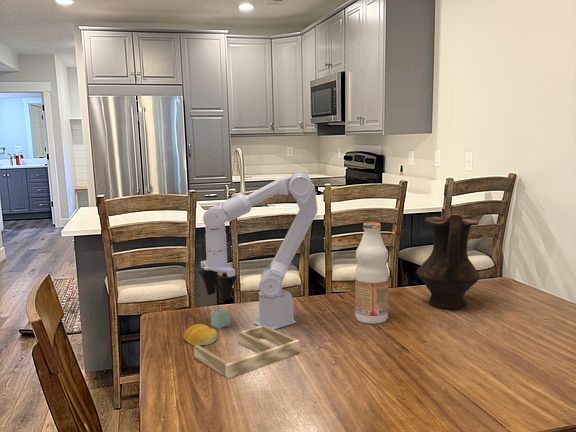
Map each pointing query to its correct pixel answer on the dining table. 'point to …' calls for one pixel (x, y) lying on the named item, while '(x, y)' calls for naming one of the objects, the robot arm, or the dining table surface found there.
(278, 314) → the robot arm
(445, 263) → the jug
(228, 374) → the organiser frame
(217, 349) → the dining table surface
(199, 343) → the bread roll
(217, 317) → the teal block
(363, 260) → the fruit juice
